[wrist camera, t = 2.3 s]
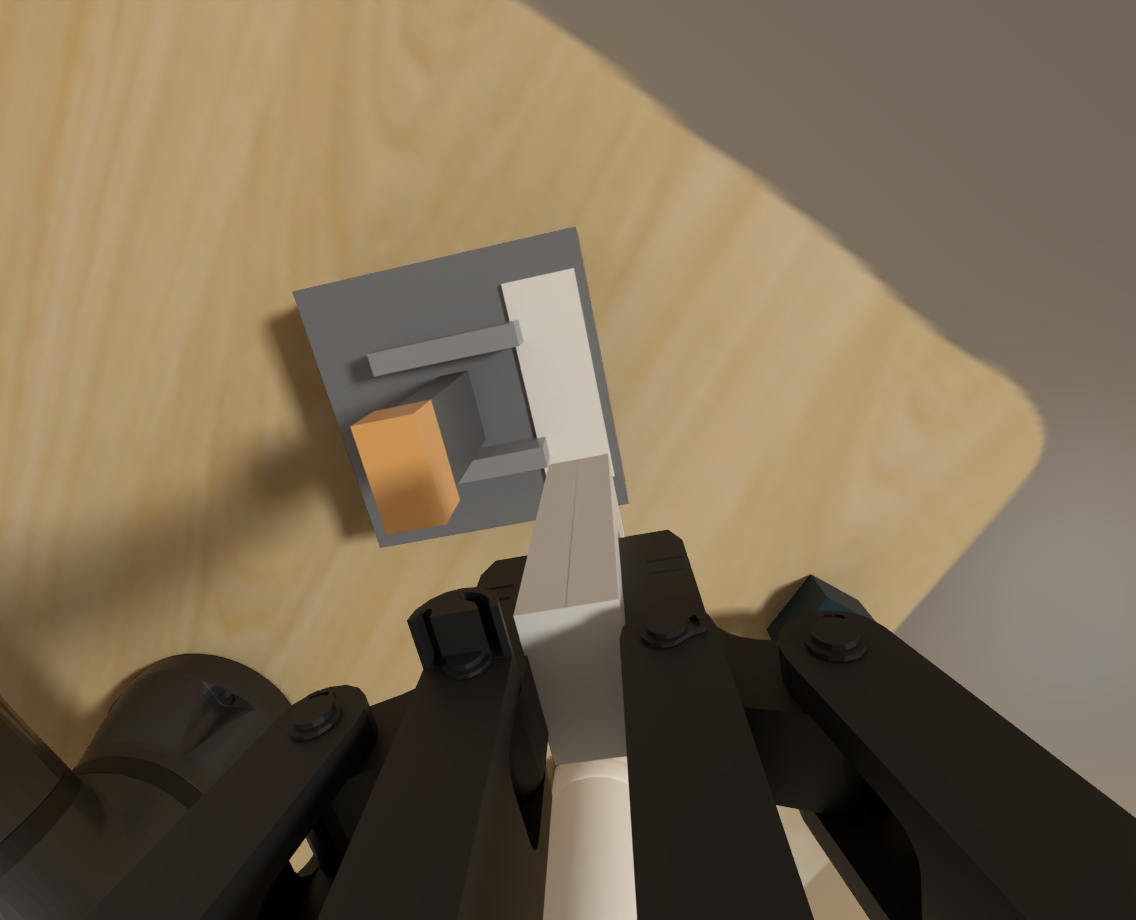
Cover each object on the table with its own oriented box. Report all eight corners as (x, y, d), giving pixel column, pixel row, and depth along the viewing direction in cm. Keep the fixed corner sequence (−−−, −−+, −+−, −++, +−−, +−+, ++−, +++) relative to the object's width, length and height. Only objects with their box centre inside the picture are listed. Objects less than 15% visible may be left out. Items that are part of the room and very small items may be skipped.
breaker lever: (453, 449, 33) (386, 534, 22) (431, 373, 31) (350, 426, 21) (493, 441, 32) (446, 524, 22) (473, 365, 31) (413, 413, 20)
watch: (833, 664, 44) (908, 785, 34) (747, 619, 43) (797, 729, 33) (880, 611, 43) (973, 720, 32) (791, 562, 42) (858, 659, 31)
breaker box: (407, 512, 42) (366, 566, 34) (335, 288, 37) (269, 293, 29) (623, 472, 40) (631, 519, 33) (577, 233, 35) (574, 222, 28)
